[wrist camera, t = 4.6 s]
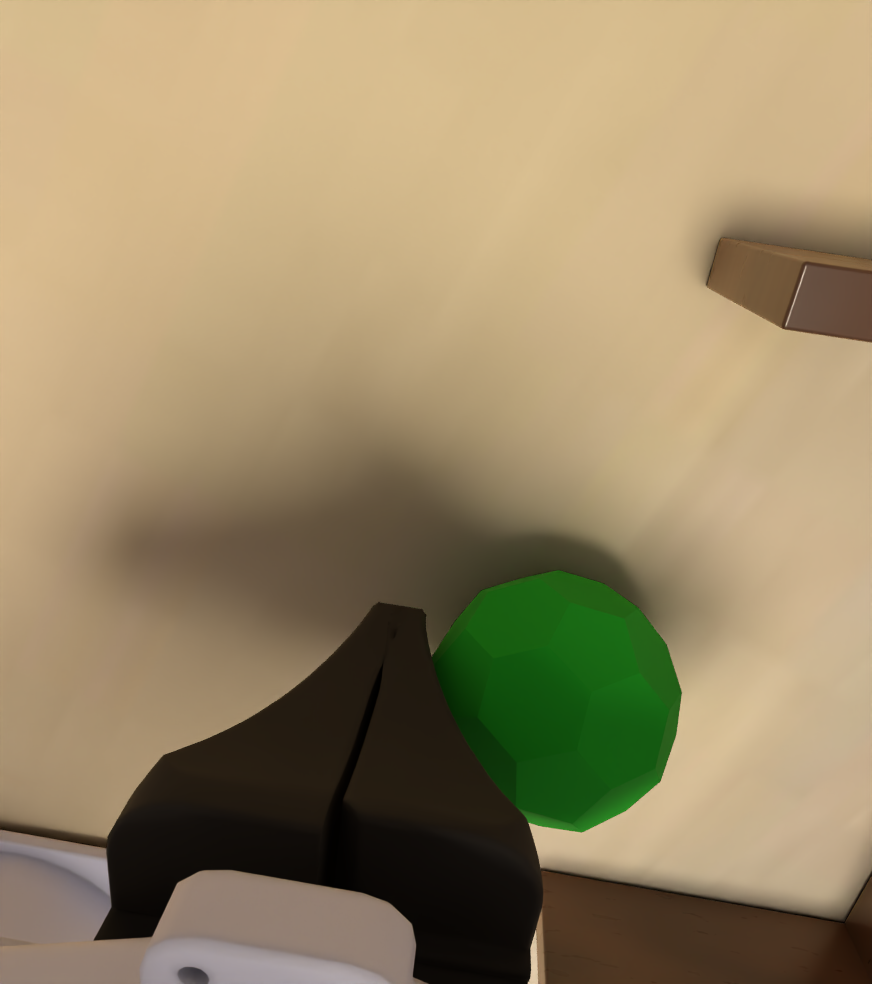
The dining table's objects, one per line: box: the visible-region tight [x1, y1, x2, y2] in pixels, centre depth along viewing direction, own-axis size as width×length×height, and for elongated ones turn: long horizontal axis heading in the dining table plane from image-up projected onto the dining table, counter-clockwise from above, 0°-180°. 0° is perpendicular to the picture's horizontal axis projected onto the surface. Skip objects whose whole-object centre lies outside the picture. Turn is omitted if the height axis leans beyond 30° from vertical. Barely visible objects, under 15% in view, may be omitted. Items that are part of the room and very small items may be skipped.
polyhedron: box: [432, 570, 682, 832], centre depth 14 cm, size 5×5×5 cm
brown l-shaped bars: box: [536, 238, 872, 984], centre depth 14 cm, size 10×18×4 cm, turn 173°
